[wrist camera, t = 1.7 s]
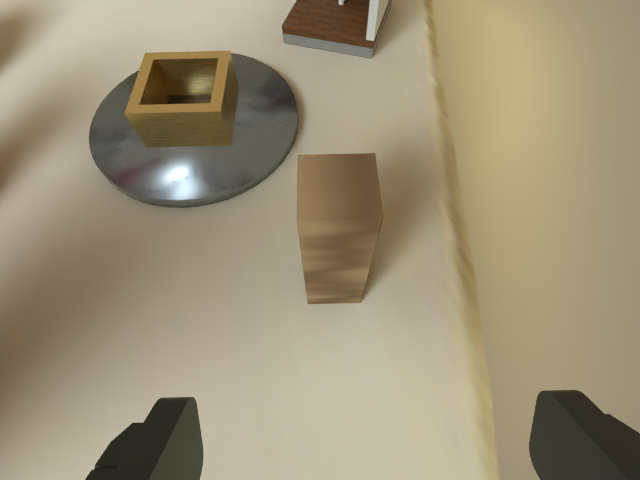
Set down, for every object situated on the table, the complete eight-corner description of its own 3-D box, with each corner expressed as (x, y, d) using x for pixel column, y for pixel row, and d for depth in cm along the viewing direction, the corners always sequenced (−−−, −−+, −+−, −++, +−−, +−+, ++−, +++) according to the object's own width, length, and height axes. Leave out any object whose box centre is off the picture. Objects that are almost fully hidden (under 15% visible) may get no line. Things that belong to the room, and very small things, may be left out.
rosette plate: (68, 210, 32) (25, 172, 27) (123, 63, 41) (98, 17, 37) (296, 205, 32) (291, 166, 27) (298, 59, 41) (295, 12, 37)
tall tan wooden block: (307, 303, 27) (297, 220, 17) (307, 256, 29) (298, 155, 19) (360, 302, 27) (382, 218, 17) (357, 255, 29) (375, 153, 19)
